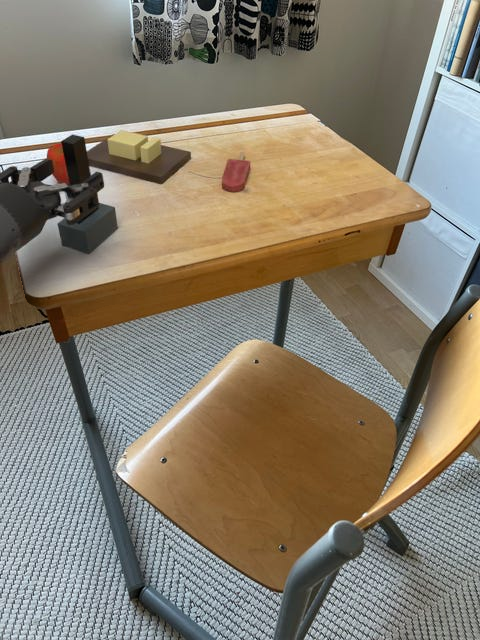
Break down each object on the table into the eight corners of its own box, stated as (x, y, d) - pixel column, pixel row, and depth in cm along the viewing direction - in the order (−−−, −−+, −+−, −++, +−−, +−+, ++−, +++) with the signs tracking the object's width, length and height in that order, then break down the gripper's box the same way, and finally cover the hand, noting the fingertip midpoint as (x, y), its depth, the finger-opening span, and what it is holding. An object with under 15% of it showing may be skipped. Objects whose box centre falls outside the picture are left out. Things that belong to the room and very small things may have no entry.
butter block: (109, 154, 100) (107, 139, 98) (123, 144, 103) (121, 129, 101) (135, 160, 98) (134, 145, 96) (149, 150, 102) (147, 135, 100)
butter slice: (141, 162, 98) (139, 146, 96) (154, 151, 101) (153, 137, 99) (148, 163, 98) (147, 148, 95) (161, 153, 101) (160, 138, 99)
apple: (48, 192, 91) (39, 152, 86) (60, 176, 95) (51, 137, 90) (83, 195, 91) (76, 155, 86) (93, 179, 95) (86, 140, 90)
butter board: (80, 163, 100) (78, 156, 99) (114, 140, 108) (113, 133, 107) (161, 184, 95) (161, 177, 94) (191, 158, 103) (190, 151, 102)
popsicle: (253, 149, 103) (243, 185, 93) (253, 157, 105) (243, 194, 94) (231, 147, 104) (219, 183, 93) (231, 155, 105) (219, 191, 94)
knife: (77, 241, 80) (57, 143, 69) (92, 229, 83) (75, 132, 72) (88, 244, 80) (69, 146, 69) (103, 232, 83) (87, 135, 72)
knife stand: (62, 245, 79) (56, 223, 77) (92, 221, 85) (88, 199, 82) (89, 254, 78) (84, 231, 75) (118, 228, 84) (115, 206, 81)
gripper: (35, 214, 58) (115, 157, 69) (-62, 185, 61) (29, 135, 73) (49, 267, 63) (121, 206, 74) (-41, 238, 67) (40, 184, 78)
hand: (75, 171), depth 73 cm, fingers open, 8 cm apart
